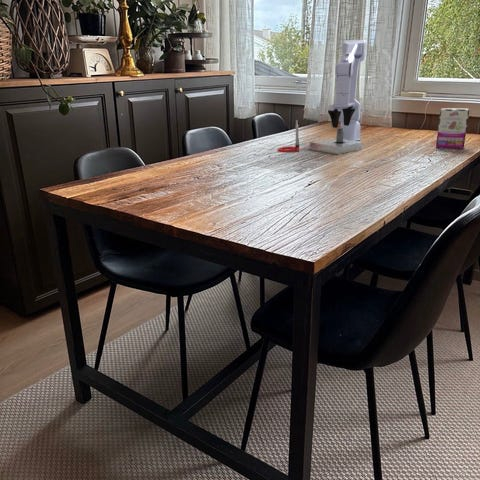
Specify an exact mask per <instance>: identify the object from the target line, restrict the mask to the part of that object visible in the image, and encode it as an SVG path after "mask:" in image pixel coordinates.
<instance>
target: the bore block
mask: <svg viewBox="0 0 480 480" xmlns="http://www.w3.org/2000/svg"><path fill="white" fill-rule="evenodd" d="M309 150H314V151H317V152H324V153H330V154H334V155H335V154H336V155H341V154H345V153H346V154H347V153H349V152H350V153H351V152H355V151H360V150H363V141H360V140H358V141H353V140H346V139H343V144H337V143H336V137H331V138H330V137H329V138H325V139H320V140H314V141H309Z"/></svg>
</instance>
